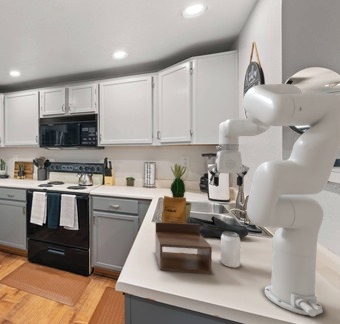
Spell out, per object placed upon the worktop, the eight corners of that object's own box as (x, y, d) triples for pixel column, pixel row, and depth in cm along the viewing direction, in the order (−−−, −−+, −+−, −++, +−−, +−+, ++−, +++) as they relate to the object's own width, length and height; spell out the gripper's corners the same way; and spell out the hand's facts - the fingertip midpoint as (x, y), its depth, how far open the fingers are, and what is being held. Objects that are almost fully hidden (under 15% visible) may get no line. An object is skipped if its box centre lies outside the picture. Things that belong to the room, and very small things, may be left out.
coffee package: (163, 233, 121) (163, 193, 120) (188, 238, 114) (188, 196, 113) (158, 239, 113) (158, 196, 112) (184, 245, 106) (184, 199, 105)
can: (222, 266, 86) (223, 236, 85) (218, 259, 92) (219, 230, 92) (242, 269, 84) (242, 238, 83) (236, 261, 90) (237, 232, 90)
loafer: (252, 241, 110) (252, 221, 109) (190, 238, 114) (190, 218, 114) (241, 233, 120) (241, 215, 120) (184, 231, 125) (185, 213, 124)
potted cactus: (163, 222, 141) (164, 175, 140) (190, 224, 136) (190, 175, 135) (162, 230, 127) (163, 177, 126) (192, 233, 122) (192, 178, 120)
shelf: (211, 274, 81) (211, 236, 80) (160, 270, 84) (160, 233, 83) (199, 256, 95) (199, 223, 94) (155, 253, 98) (155, 222, 97)
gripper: (210, 148, 100) (210, 186, 101) (253, 148, 97) (252, 187, 98) (205, 149, 108) (205, 184, 108) (244, 148, 105) (244, 184, 105)
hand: (227, 185), depth 103 cm, fingers open, 9 cm apart
